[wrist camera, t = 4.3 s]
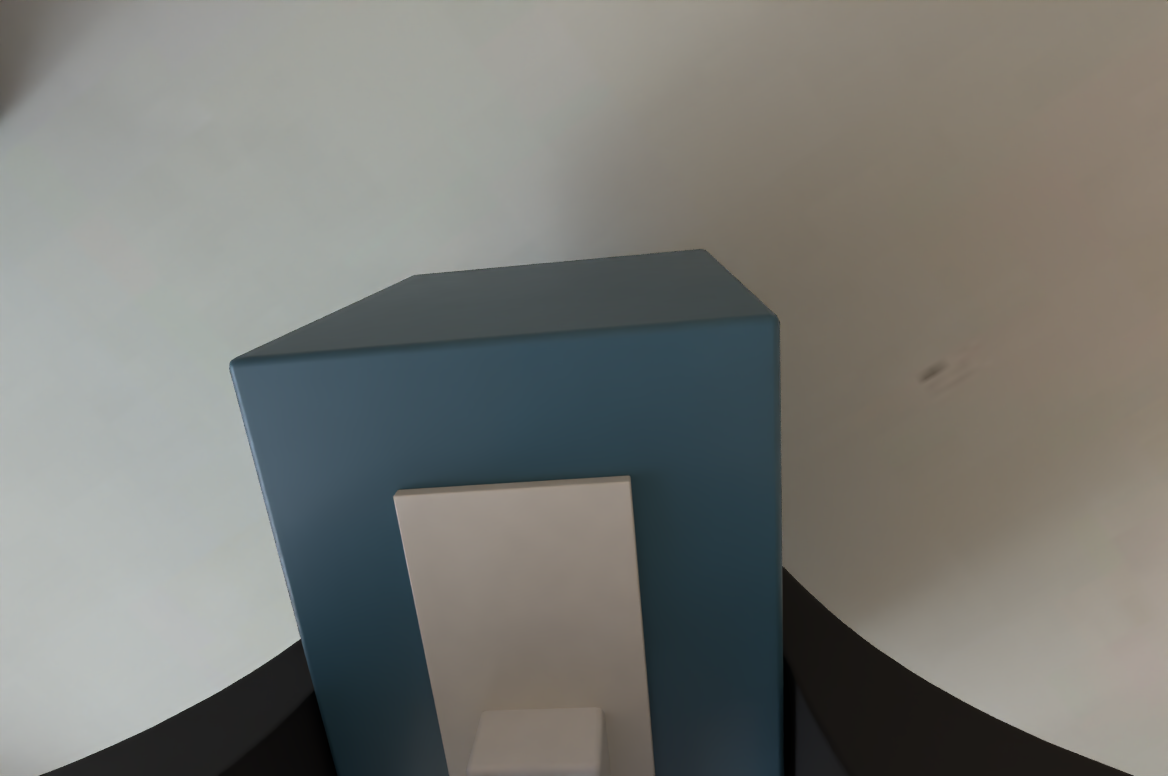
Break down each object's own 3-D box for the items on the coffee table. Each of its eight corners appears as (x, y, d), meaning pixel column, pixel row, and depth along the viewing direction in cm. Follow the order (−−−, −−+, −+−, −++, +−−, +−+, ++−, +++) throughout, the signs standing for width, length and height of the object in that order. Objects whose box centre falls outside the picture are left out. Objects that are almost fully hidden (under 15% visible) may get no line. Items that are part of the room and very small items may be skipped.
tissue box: (728, 775, 15) (806, 1229, 9) (498, 780, 16) (405, 1215, 9) (707, 247, 12) (809, 339, 5) (410, 274, 12) (157, 389, 6)
